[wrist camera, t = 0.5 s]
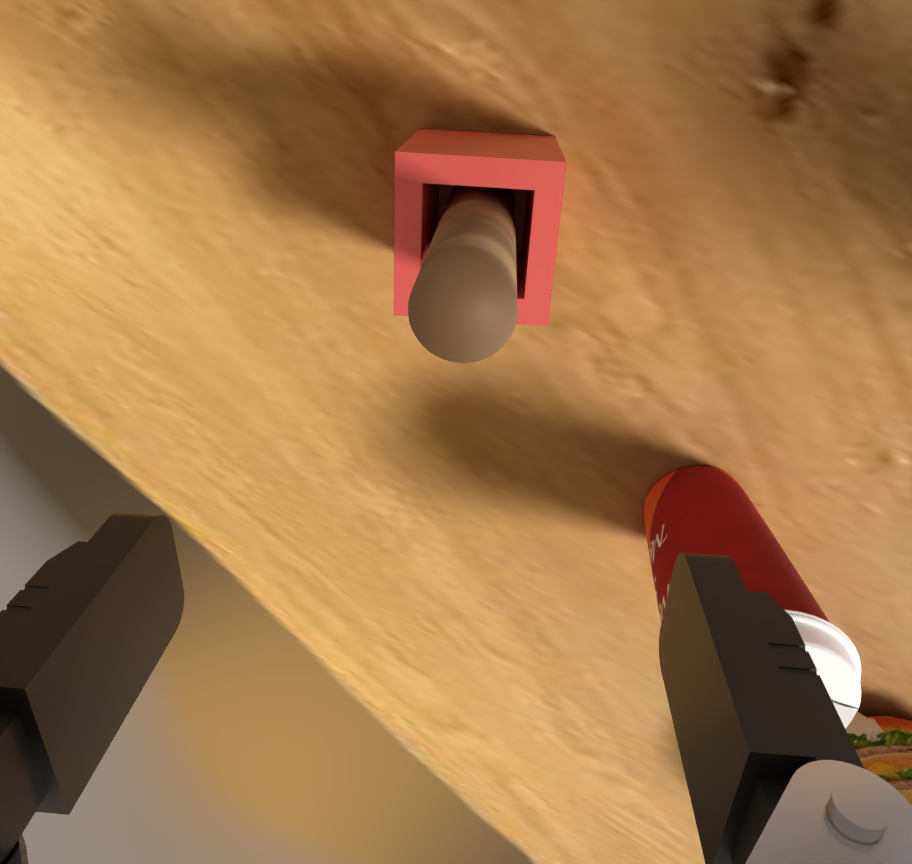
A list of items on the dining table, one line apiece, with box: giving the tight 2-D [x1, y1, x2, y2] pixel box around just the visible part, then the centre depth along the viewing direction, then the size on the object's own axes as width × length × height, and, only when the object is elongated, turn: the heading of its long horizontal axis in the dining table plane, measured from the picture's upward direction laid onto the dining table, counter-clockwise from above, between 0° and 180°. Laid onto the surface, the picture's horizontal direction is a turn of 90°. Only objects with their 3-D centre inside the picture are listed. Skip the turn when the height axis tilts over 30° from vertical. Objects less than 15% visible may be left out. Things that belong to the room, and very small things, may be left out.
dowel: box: [408, 185, 517, 363], centre depth 26 cm, size 3×3×15 cm
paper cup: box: [644, 466, 861, 729], centre depth 35 cm, size 8×8×14 cm
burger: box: [846, 712, 912, 805], centre depth 46 cm, size 13×14×10 cm
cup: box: [394, 128, 566, 326], centre depth 30 cm, size 6×6×8 cm
